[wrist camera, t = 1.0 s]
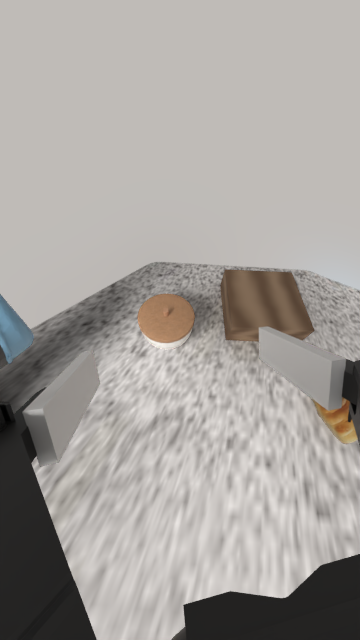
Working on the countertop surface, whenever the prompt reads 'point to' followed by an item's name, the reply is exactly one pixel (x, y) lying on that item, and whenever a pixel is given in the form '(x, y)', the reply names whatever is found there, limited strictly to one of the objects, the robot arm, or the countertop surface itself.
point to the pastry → (338, 421)
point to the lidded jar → (166, 320)
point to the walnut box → (262, 305)
